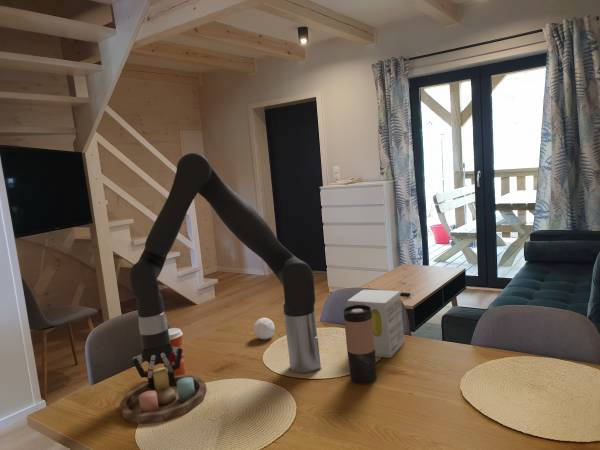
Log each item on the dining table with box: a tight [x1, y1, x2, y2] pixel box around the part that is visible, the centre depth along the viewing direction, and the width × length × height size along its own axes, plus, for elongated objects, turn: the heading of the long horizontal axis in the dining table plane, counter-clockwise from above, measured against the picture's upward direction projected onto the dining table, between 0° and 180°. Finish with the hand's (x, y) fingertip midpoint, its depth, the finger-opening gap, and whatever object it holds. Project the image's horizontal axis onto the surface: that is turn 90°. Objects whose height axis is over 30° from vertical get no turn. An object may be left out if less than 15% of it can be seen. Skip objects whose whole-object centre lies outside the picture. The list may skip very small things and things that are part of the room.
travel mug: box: [343, 305, 378, 385], centre depth 124 cm, size 8×8×20 cm
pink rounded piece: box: [139, 391, 159, 413], centre depth 117 cm, size 4×4×5 cm
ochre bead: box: [152, 367, 170, 391], centre depth 128 cm, size 4×4×5 cm
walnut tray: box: [119, 374, 208, 425], centre depth 123 cm, size 22×22×3 cm
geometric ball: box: [252, 317, 275, 341], centre depth 164 cm, size 8×8×8 cm
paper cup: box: [163, 327, 186, 376], centre depth 141 cm, size 8×8×14 cm
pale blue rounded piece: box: [177, 377, 195, 402], centre depth 122 cm, size 4×4×5 cm
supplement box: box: [347, 289, 405, 359], centre depth 144 cm, size 13×13×18 cm
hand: (162, 386), depth 128 cm, fingers closed on ochre bead, 4 cm apart
